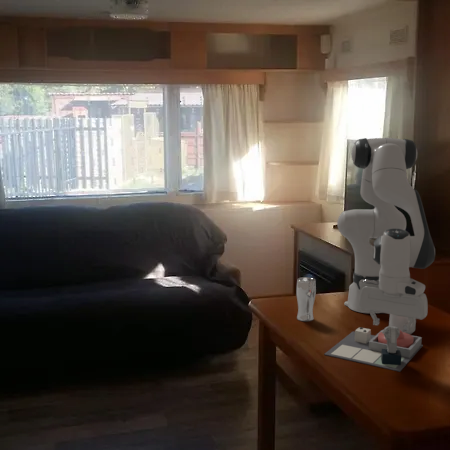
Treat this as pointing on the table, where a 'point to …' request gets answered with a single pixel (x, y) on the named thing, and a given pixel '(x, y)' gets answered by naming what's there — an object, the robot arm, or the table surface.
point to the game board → (370, 349)
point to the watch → (391, 346)
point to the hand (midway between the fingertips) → (391, 327)
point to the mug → (401, 323)
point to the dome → (398, 339)
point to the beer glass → (305, 298)
